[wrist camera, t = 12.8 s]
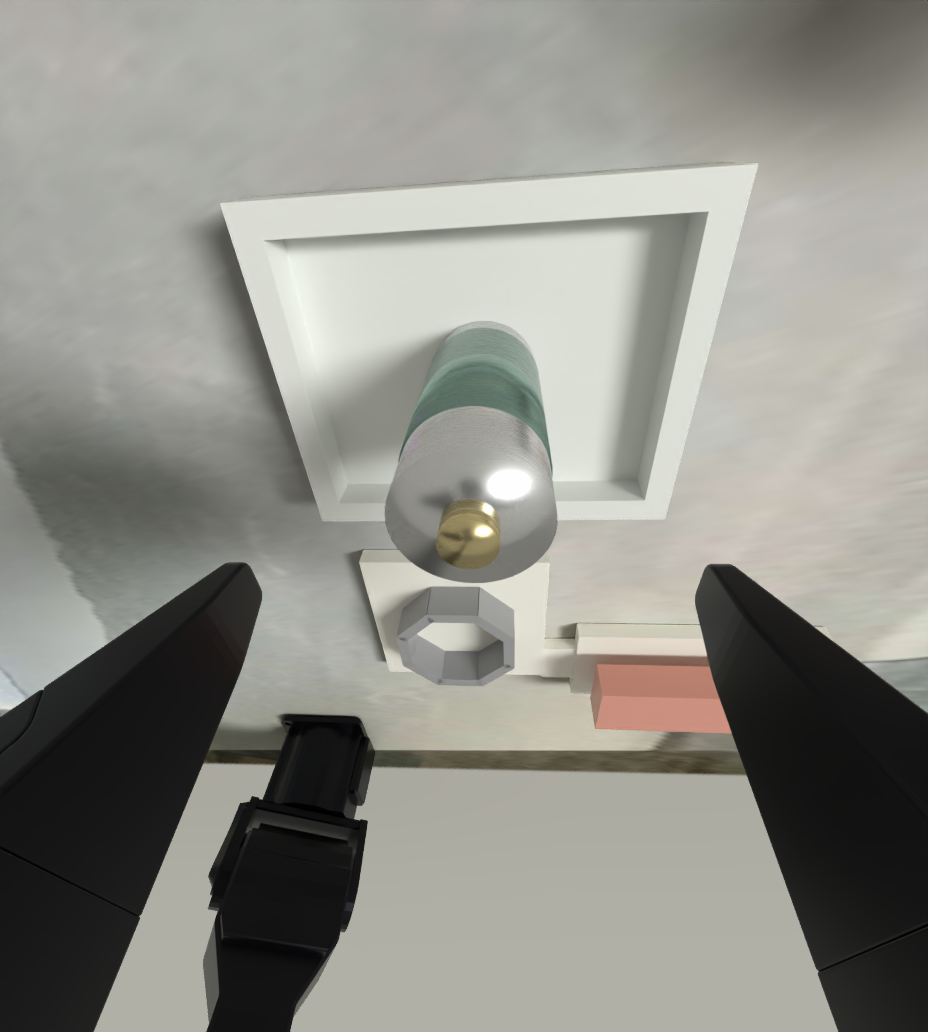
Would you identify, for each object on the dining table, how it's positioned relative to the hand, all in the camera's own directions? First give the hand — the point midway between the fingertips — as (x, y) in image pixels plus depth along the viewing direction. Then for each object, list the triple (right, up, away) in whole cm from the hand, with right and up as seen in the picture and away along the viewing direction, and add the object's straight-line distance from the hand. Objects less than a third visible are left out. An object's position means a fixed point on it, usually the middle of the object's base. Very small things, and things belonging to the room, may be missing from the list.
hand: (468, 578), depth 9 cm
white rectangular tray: (+1, +7, +9) cm, 12 cm away
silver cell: (+1, +7, +9) cm, 11 cm away
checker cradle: (+8, -5, +19) cm, 21 cm away
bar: (+14, -9, +18) cm, 25 cm away
